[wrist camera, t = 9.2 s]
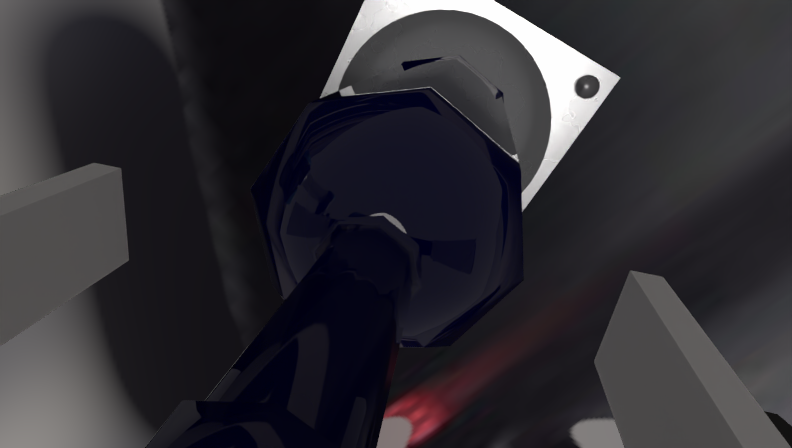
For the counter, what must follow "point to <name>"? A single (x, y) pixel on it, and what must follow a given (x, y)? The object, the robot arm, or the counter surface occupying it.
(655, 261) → the counter surface
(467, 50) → the flange plate
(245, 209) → the counter surface
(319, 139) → the bottle
